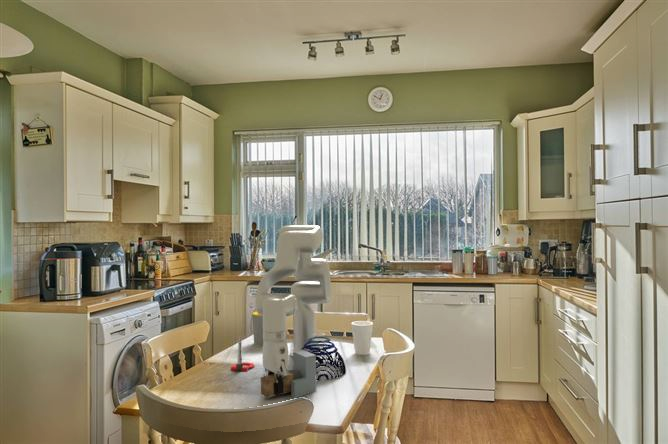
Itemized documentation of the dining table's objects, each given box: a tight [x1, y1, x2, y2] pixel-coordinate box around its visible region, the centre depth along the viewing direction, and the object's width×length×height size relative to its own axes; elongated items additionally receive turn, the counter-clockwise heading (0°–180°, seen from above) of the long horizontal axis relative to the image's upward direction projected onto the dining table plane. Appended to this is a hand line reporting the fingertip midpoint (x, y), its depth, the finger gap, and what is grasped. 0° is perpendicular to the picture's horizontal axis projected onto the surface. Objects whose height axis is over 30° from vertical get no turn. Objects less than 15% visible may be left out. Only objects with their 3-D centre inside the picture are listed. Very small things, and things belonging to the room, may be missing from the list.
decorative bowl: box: [301, 332, 347, 382], centre depth 172 cm, size 20×20×14 cm
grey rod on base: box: [230, 336, 255, 372], centre depth 178 cm, size 8×13×9 cm
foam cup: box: [350, 320, 374, 356], centre depth 196 cm, size 10×9×13 cm
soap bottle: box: [251, 311, 264, 348], centre depth 214 cm, size 13×13×21 cm
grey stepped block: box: [290, 350, 317, 399], centre depth 152 cm, size 10×9×12 cm
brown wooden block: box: [260, 368, 299, 398], centre depth 148 cm, size 12×4×6 cm, turn 127°
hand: (275, 391), depth 146 cm, fingers closed on brown wooden block, 3 cm apart
